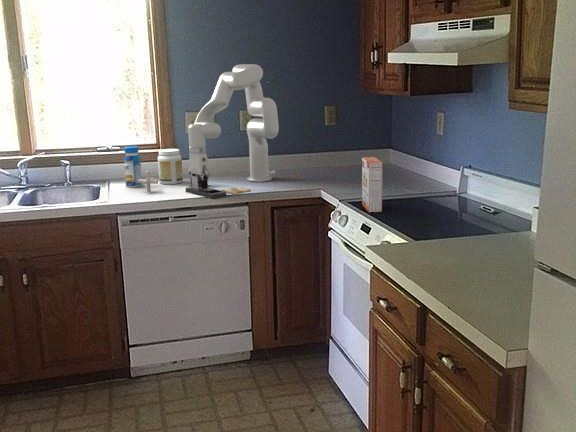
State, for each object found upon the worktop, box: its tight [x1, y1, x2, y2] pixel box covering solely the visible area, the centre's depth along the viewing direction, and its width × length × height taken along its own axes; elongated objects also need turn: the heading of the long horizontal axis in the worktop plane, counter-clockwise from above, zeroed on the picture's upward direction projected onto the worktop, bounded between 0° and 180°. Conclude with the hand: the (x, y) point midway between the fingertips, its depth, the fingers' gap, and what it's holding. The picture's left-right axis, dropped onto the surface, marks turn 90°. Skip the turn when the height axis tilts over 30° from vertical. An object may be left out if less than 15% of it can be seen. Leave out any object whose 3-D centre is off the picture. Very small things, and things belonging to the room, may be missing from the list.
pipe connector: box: [138, 170, 159, 193], centre depth 315 cm, size 10×10×10 cm
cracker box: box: [361, 156, 383, 214], centre depth 270 cm, size 14×6×21 cm, turn 5°
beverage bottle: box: [123, 145, 143, 188], centre depth 328 cm, size 8×8×20 cm
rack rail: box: [185, 186, 227, 199], centre depth 308 cm, size 8×22×2 cm, turn 42°
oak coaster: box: [220, 186, 252, 195], centre depth 314 cm, size 10×10×1 cm
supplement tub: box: [157, 148, 184, 185], centre depth 336 cm, size 12×12×17 cm
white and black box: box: [192, 175, 207, 190], centre depth 311 cm, size 5×5×8 cm
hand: (199, 186), depth 311 cm, fingers open, 8 cm apart
